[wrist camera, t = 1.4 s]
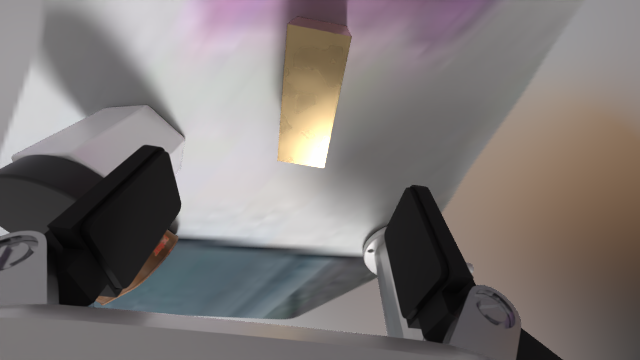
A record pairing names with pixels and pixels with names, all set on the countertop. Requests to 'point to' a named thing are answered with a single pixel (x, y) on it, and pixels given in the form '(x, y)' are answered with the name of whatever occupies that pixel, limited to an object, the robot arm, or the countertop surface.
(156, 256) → the tin
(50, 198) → the jar
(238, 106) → the countertop surface
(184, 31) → the countertop surface
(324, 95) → the bar
